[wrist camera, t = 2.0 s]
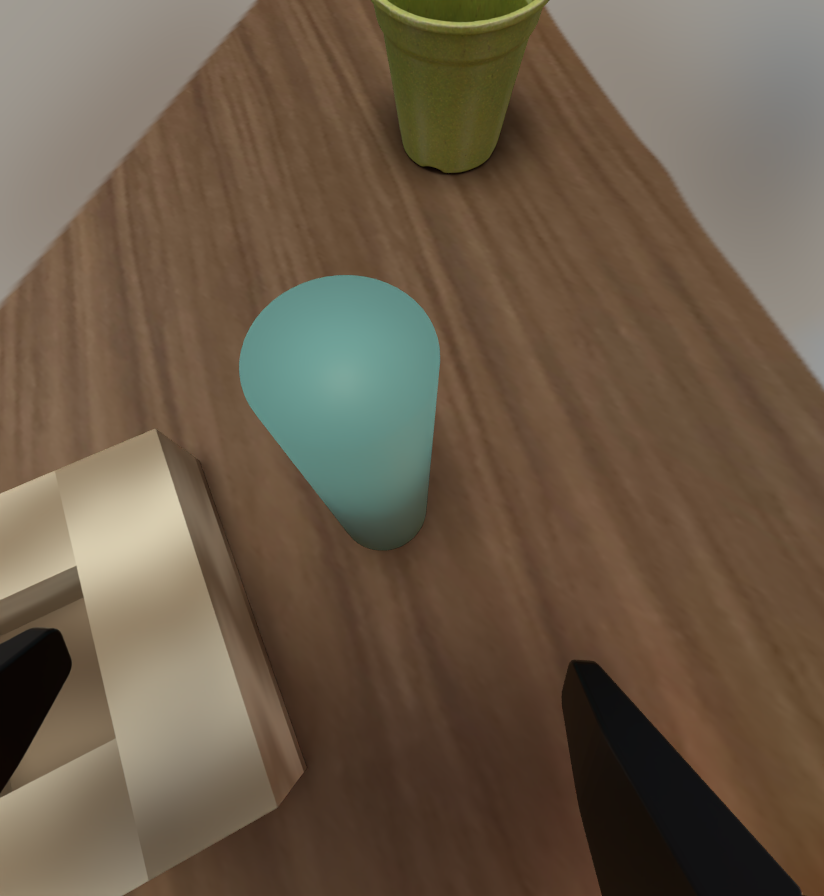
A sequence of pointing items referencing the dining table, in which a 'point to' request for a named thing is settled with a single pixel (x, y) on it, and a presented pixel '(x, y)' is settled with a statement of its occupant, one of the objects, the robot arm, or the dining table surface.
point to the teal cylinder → (350, 399)
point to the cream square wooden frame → (135, 676)
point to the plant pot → (454, 73)
